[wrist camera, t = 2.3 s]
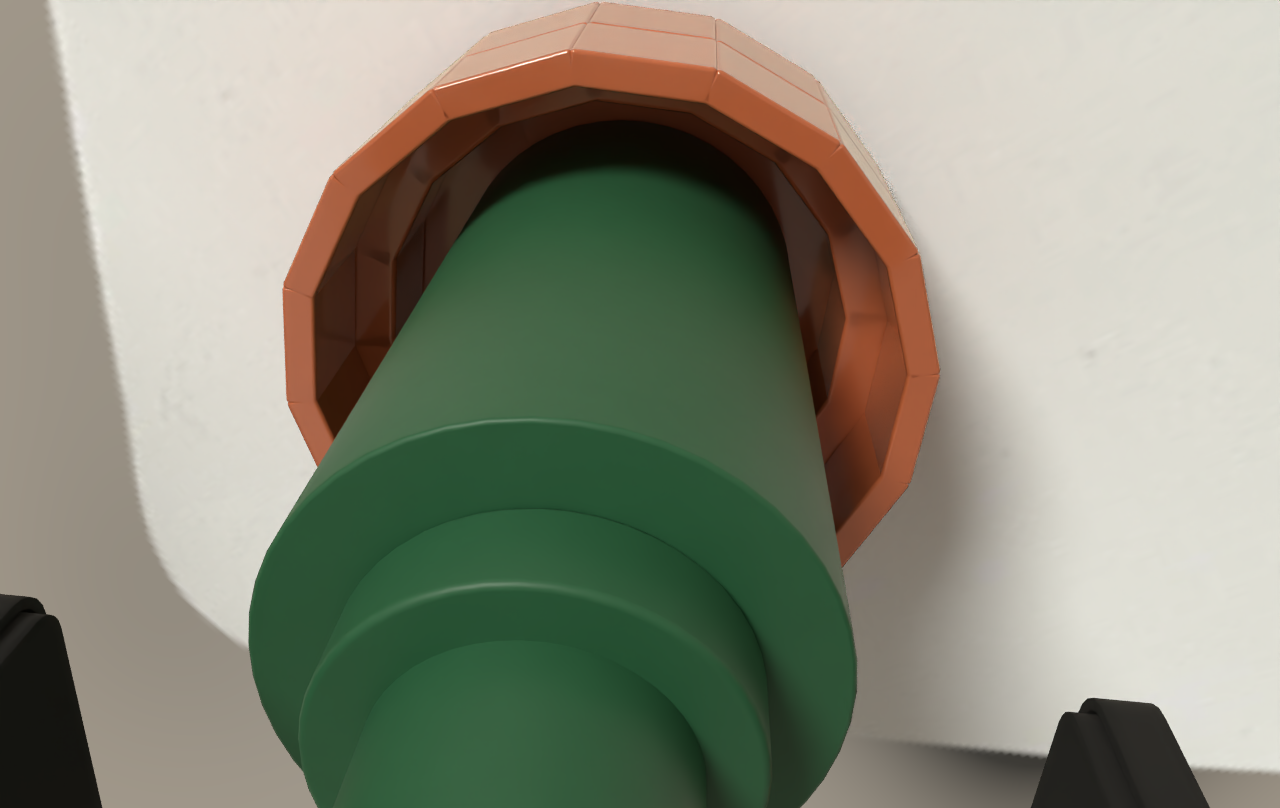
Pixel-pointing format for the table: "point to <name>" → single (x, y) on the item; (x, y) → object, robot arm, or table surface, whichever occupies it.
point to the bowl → (656, 93)
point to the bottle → (574, 514)
